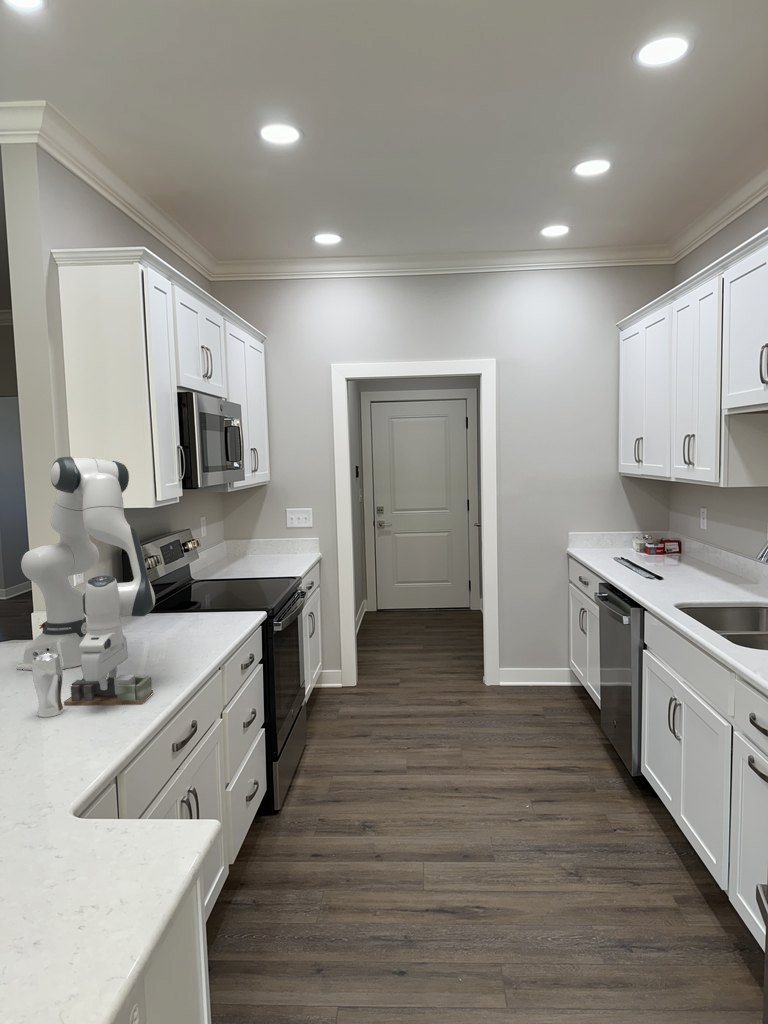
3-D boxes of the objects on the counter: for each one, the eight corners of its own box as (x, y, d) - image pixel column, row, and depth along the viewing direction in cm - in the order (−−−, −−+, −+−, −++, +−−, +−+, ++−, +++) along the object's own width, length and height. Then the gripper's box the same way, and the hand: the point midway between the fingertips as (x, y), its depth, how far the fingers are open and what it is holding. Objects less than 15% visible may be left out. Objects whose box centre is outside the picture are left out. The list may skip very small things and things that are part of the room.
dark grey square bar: (71, 695, 184) (70, 680, 183) (78, 689, 188) (77, 675, 187) (129, 694, 183) (128, 679, 183) (135, 689, 187) (134, 674, 187)
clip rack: (64, 705, 182) (62, 687, 182) (78, 694, 190) (77, 677, 189) (141, 704, 181) (140, 686, 181) (153, 693, 189) (152, 676, 189)
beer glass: (45, 720, 172) (41, 662, 171) (30, 715, 176) (25, 658, 174) (71, 710, 178) (67, 654, 177) (55, 706, 182) (51, 651, 180)
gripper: (110, 626, 194) (113, 673, 196) (75, 647, 174) (79, 700, 175) (132, 626, 194) (135, 673, 195) (99, 647, 174) (103, 699, 175)
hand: (108, 686), depth 185 cm, fingers closed on dark grey square bar, 3 cm apart
